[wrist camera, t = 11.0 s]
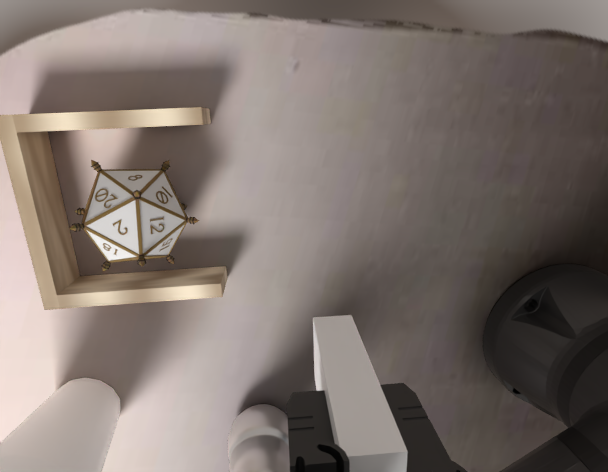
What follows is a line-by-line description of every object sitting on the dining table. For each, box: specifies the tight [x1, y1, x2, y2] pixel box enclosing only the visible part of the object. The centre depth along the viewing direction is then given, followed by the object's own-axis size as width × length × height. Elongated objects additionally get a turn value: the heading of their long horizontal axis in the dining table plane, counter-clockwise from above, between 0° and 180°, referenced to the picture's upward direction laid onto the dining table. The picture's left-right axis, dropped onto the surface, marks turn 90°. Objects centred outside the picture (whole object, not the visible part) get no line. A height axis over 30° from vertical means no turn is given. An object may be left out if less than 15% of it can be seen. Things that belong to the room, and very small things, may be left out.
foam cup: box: [0, 377, 121, 472], centre depth 32 cm, size 10×9×13 cm
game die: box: [69, 160, 199, 271], centre depth 30 cm, size 9×8×10 cm
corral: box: [0, 107, 227, 310], centre depth 31 cm, size 14×15×4 cm
